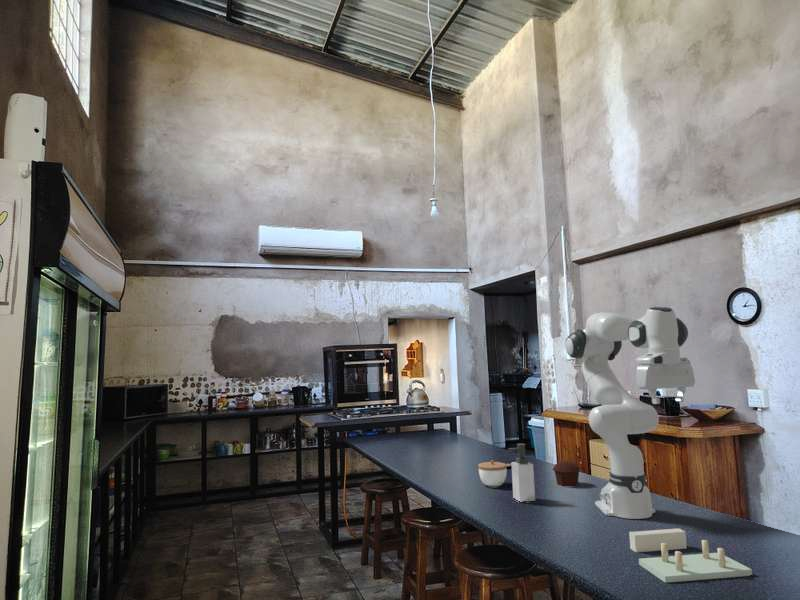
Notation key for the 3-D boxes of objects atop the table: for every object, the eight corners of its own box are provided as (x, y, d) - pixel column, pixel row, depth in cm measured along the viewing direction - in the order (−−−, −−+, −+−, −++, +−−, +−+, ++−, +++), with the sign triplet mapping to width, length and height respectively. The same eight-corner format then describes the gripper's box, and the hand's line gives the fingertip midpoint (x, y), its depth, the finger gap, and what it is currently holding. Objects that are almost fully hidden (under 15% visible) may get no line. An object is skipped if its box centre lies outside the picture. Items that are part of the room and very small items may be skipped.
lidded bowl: (510, 488, 231) (508, 462, 232) (481, 489, 231) (479, 463, 232) (504, 481, 244) (503, 457, 245) (477, 482, 244) (476, 457, 245)
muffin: (579, 481, 239) (577, 459, 240) (583, 487, 229) (581, 464, 230) (552, 481, 241) (550, 459, 243) (554, 487, 231) (553, 464, 232)
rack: (665, 582, 134) (663, 558, 135) (639, 564, 146) (637, 541, 147) (752, 575, 137) (750, 551, 137) (719, 558, 149) (717, 535, 149)
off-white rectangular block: (635, 553, 155) (634, 535, 155) (630, 549, 158) (629, 532, 158) (686, 549, 157) (685, 531, 157) (680, 545, 160) (679, 528, 160)
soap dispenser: (507, 499, 214) (505, 443, 217) (528, 497, 216) (525, 442, 218) (514, 503, 208) (511, 446, 210) (535, 501, 210) (532, 444, 212)
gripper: (681, 357, 172) (684, 400, 171) (631, 359, 165) (634, 404, 164) (698, 357, 166) (701, 401, 165) (647, 359, 159) (650, 405, 158)
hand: (668, 402), depth 164 cm, fingers open, 8 cm apart
